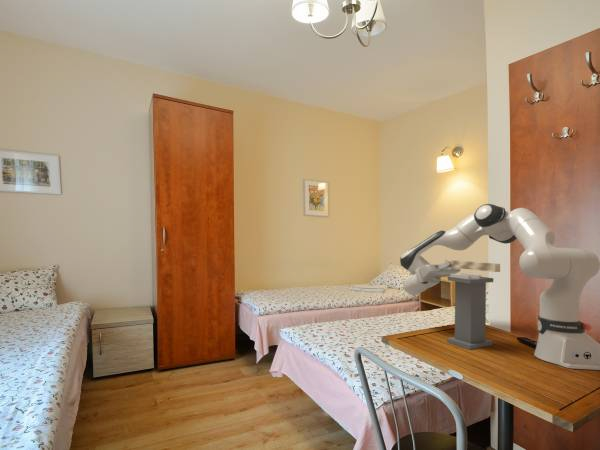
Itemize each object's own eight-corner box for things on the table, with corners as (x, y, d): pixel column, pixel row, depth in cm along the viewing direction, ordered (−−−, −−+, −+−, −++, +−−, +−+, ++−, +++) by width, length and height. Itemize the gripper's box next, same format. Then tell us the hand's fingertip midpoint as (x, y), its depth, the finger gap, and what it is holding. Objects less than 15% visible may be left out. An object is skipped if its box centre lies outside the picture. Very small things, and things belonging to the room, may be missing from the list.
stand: (447, 342, 139) (447, 273, 140) (469, 338, 146) (470, 272, 146) (469, 349, 130) (470, 276, 131) (493, 344, 137) (493, 275, 138)
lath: (445, 266, 152) (445, 259, 152) (450, 266, 153) (450, 259, 153) (495, 271, 132) (495, 263, 132) (500, 271, 133) (500, 263, 133)
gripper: (448, 281, 164) (472, 268, 153) (417, 283, 154) (439, 270, 144) (443, 269, 167) (465, 256, 156) (412, 270, 157) (433, 256, 147)
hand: (453, 262), depth 150 cm, fingers closed on lath, 3 cm apart
